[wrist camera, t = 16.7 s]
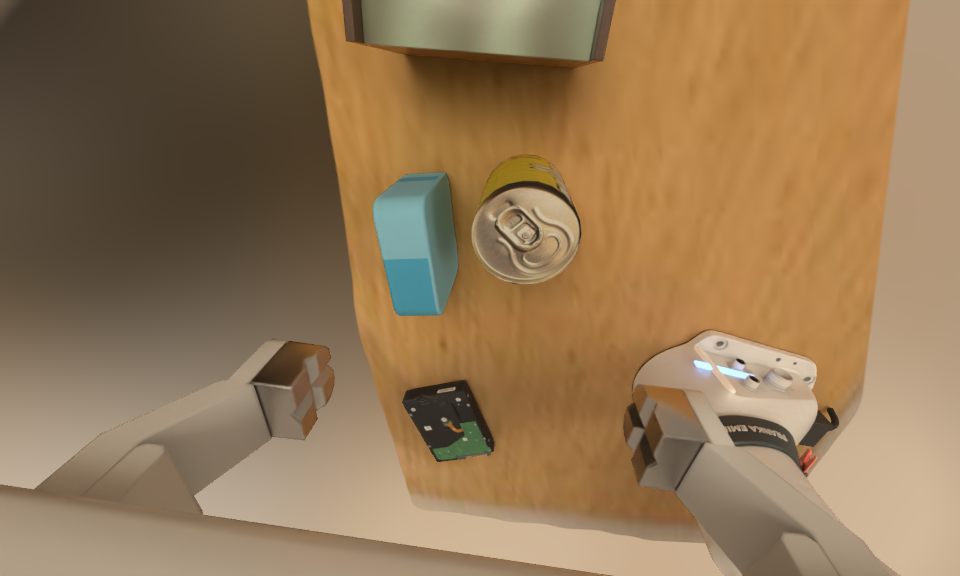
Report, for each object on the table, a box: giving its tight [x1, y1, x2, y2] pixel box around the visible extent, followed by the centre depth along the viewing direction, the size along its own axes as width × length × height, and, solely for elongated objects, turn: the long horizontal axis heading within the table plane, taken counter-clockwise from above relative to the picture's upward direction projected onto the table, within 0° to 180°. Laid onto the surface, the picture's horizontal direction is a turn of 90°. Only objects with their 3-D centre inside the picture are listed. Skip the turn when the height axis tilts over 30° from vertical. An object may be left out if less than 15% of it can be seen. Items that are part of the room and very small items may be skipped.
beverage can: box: [472, 155, 581, 285], centre depth 35 cm, size 9×9×12 cm
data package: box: [373, 172, 458, 316], centre depth 38 cm, size 12×4×12 cm, turn 4°
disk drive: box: [402, 380, 494, 462], centre depth 58 cm, size 10×3×15 cm
